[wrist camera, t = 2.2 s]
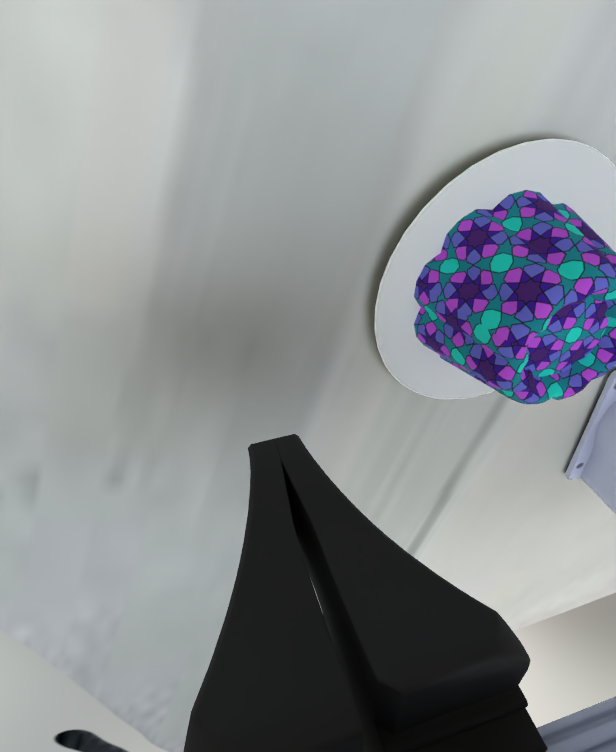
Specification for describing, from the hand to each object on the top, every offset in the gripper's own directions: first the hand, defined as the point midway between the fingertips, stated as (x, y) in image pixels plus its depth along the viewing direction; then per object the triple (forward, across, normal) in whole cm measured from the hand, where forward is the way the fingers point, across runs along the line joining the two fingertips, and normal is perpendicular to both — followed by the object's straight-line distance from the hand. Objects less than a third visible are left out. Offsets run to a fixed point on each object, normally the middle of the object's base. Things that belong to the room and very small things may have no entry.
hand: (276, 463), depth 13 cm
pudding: (+7, -12, 0) cm, 14 cm away
